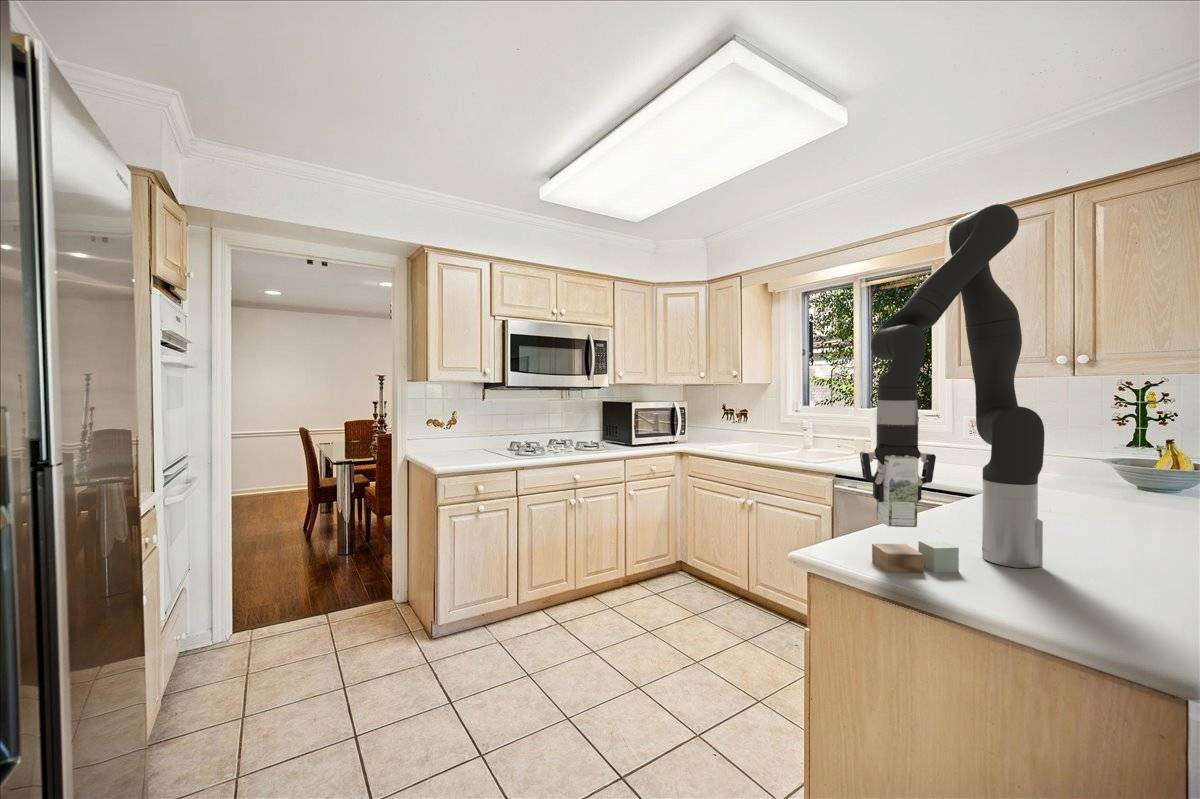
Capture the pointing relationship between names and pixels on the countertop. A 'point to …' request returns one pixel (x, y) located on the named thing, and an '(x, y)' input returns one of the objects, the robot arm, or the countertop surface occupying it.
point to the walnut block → (898, 558)
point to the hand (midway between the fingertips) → (896, 501)
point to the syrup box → (899, 492)
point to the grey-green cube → (940, 556)
